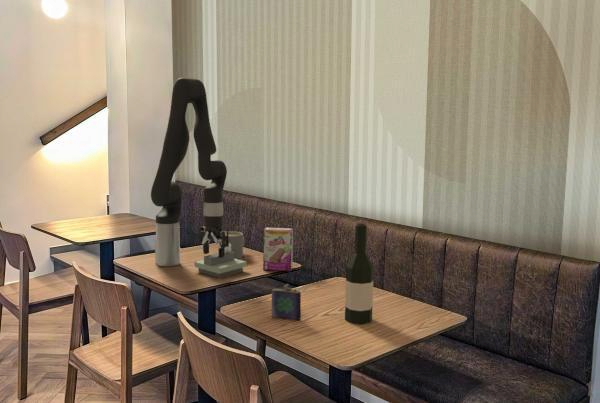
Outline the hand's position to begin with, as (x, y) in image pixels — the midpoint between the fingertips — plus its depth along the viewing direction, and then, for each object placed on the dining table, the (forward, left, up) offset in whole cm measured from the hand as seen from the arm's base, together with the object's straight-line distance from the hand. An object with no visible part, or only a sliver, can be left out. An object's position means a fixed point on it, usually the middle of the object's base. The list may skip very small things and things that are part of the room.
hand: (213, 255), depth 232 cm
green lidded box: (0, +4, -7) cm, 8 cm away
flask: (+53, -18, -7) cm, 56 cm away
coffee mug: (-14, +24, -7) cm, 29 cm away
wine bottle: (+70, -4, -7) cm, 70 cm away
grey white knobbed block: (0, +3, -3) cm, 4 cm away
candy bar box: (+14, +21, -7) cm, 26 cm away
